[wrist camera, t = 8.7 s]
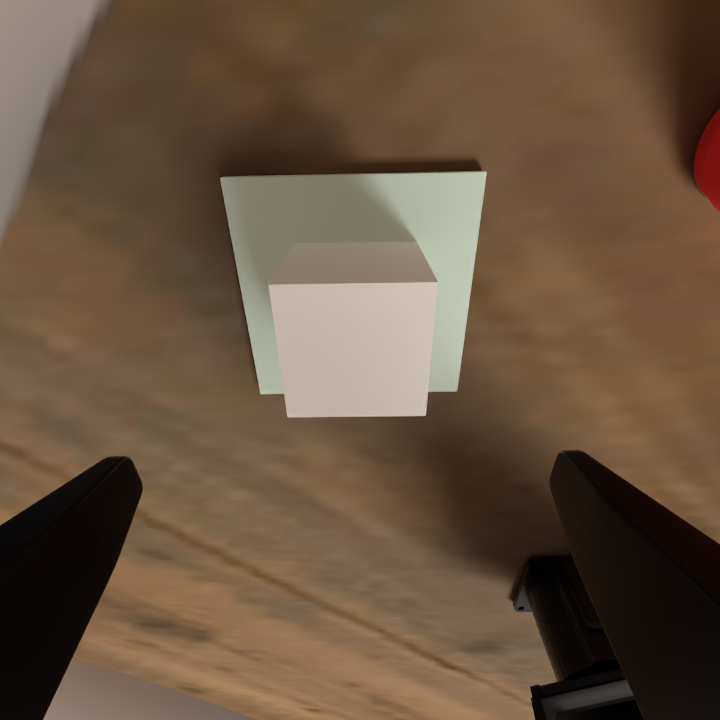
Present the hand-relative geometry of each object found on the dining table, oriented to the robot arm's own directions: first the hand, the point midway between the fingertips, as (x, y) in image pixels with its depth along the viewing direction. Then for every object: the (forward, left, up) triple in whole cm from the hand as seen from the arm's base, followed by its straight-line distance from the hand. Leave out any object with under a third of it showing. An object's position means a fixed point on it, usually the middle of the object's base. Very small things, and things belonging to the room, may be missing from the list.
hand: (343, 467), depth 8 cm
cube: (0, 0, -10) cm, 10 cm away
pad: (0, 0, -11) cm, 11 cm away
